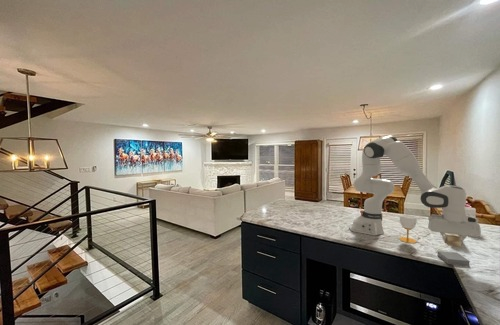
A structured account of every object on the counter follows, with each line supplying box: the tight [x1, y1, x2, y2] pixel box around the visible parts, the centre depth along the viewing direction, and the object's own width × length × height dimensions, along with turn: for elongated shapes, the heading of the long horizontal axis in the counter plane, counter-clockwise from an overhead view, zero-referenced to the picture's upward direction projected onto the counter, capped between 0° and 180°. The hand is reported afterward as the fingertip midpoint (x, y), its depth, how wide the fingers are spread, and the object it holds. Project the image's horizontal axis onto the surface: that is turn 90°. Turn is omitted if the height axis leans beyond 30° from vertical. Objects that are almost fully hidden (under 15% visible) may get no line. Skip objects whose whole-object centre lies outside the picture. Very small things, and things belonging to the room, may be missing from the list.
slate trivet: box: [437, 250, 470, 267], centre depth 112 cm, size 9×9×3 cm
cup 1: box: [398, 214, 418, 244], centre depth 137 cm, size 9×9×16 cm
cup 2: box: [465, 206, 477, 218], centre depth 152 cm, size 8×8×16 cm
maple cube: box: [443, 233, 462, 248], centre depth 111 cm, size 5×5×5 cm
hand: (452, 241), depth 111 cm, fingers closed on maple cube, 5 cm apart
